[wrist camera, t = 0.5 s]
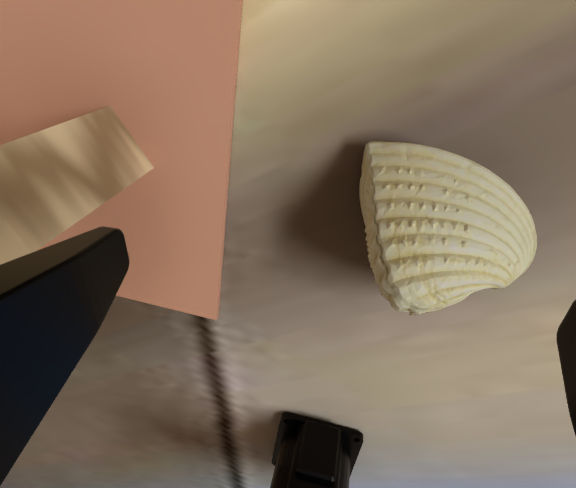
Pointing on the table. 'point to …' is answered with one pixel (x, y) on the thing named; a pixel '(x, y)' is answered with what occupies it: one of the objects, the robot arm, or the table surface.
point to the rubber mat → (139, 123)
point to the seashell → (439, 226)
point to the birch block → (63, 178)
